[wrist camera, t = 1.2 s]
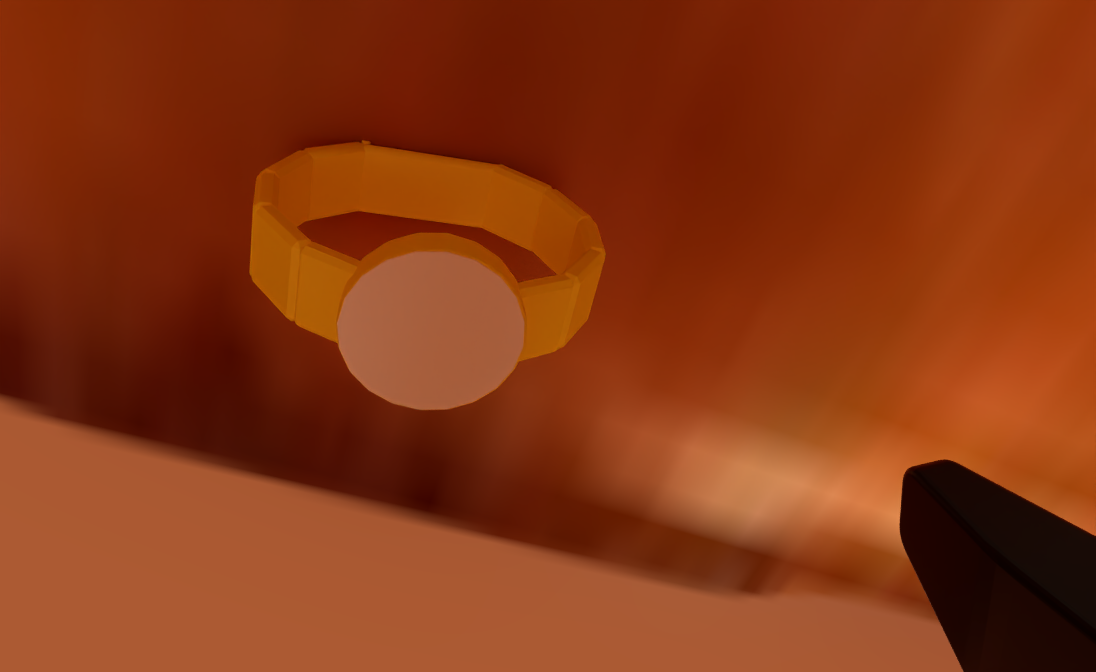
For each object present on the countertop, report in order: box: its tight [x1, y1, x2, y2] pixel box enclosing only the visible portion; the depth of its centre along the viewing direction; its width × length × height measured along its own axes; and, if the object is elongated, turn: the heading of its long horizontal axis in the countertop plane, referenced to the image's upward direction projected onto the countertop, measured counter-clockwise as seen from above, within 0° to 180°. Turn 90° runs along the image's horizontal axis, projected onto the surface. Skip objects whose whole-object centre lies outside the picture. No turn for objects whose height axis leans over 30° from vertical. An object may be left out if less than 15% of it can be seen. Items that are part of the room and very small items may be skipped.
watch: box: [249, 140, 606, 410], centre depth 15 cm, size 6×3×6 cm, turn 77°
